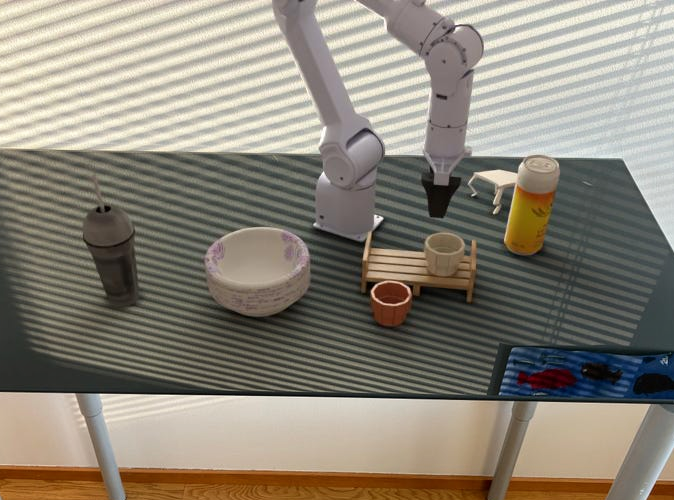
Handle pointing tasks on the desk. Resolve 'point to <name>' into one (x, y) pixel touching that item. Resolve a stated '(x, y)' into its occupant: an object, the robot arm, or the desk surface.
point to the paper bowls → (258, 270)
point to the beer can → (531, 204)
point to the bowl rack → (414, 269)
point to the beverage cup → (112, 250)
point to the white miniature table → (495, 183)
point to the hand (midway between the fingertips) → (437, 203)
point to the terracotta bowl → (390, 302)
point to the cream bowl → (443, 253)
